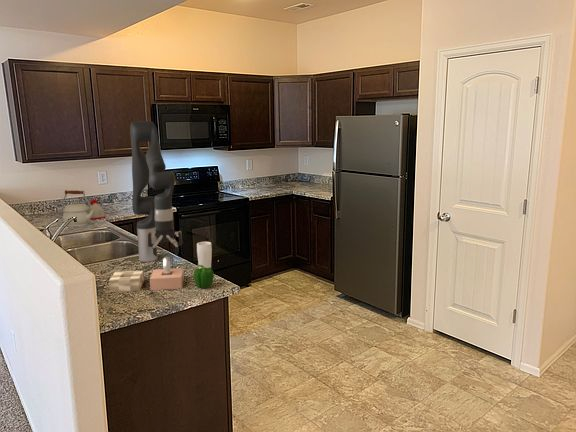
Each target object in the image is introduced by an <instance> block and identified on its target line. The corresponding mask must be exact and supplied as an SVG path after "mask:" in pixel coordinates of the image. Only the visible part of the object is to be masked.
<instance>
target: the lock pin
mask: <svg viewBox="0 0 576 432" xmlns="http://www.w3.org/2000/svg"><path fill="white" fill-rule="evenodd" d="M162 269H163V273H164V275H171V270H170V269H171V258H170V256H165V257H162Z"/></svg>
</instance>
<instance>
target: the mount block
mask: <svg viewBox="0 0 576 432" xmlns="http://www.w3.org/2000/svg"><path fill="white" fill-rule="evenodd" d="M144 276H145V274H144V270H128V271H123V270H122V271H114V273H113V275H111V277H110V278H109V280H108V289H109V293H117V292H118V293H119V292H120V293H121V292H136V291H140V290H141V288H142V286H143V285H144V282H145V278H144Z"/></svg>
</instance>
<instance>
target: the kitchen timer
mask: <svg viewBox="0 0 576 432" xmlns="http://www.w3.org/2000/svg"><path fill="white" fill-rule="evenodd" d="M89 202H90V210H89V211H90V212H91V210H95V211H94V213H93V215H92V217H91V219H90V221H96V220H95V219H99V220H102V219H101V218H104V217H105V218H106V214H105V210H104V209H103V207H102V206H101V205H100V204H99V200H97V199H95V198H93V199H91V201H89ZM87 207H88V208H89V206H87ZM105 218H104V219H105Z"/></svg>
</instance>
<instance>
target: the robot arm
mask: <svg viewBox="0 0 576 432" xmlns="http://www.w3.org/2000/svg"><path fill="white" fill-rule="evenodd" d="M129 135H130V143H131V144H130V146H131V175H132V176H131V178H132V199H131V200H132V202H131V203H132V205H131V206H132V207H131V209H132V212H133V214H134V215H137V216H143V215H145V216H146V215H147V216H146V217H145V218H144V219H143V218H142V220H139V221H137V223H136V232H137V233H136V234H137V235H136V236H137V246H138V247H137V248H138V258H139V259H138V260H139V261H140V262H146V263H147V262H148V263H149V262H153V261H156V260H158V244H159V243H169V242H170V243H171V244H172V245H174V254H175V256H178V254H179V251H180V250H179V249H180V248H179V247H181V246H182V245H183V235H182V231H181V230H178V231H175V229H174V228H175V227H174V213H173V212H174V211H173V203H172V202H173V201H172V199H173V198H172V197H173V191H174V188H175V183H176V182H175V181H176V178H175V175H174V173H172V172H171V171H166V168H167V167H166V163H165V160H164V158H163V155H162V152H161V146H160V141H159V136H158V130H157V127H156V124H155V123H154V121H152V120H141V121H140V120H139V121H132V122H131V123H130V127H129ZM145 142H150V146H149V147H148V149H147V151H146V153H144V151H143V150H142V148H141V146H140V143H145ZM148 184H149V187H150V188H151V189H153V190H162V189H164V191H163V192H161V193H159V194H156V195H155V196H154V197H153V196H151V195H149V196H141V195H142V193H143V191H144V190H145V189H146V187H147V186H148ZM175 236H176V237H178V241H177V240H176V239H175V238H174V237H175Z"/></svg>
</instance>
